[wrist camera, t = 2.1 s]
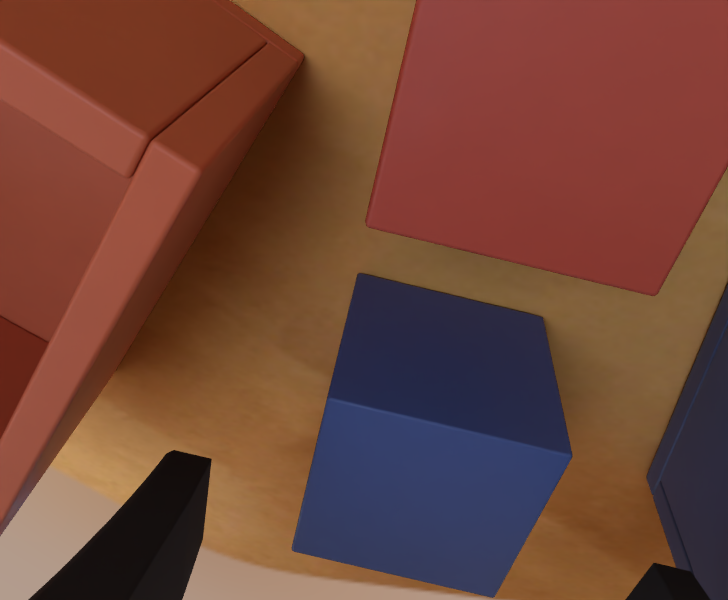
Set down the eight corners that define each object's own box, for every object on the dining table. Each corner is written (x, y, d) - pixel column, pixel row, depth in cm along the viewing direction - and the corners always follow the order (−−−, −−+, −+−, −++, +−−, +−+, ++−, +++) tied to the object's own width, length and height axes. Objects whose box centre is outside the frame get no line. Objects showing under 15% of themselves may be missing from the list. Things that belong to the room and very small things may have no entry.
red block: (706, -59, 10) (840, -31, 6) (599, 184, 12) (656, 299, 9) (448, -123, 10) (445, -129, 6) (388, 132, 12) (363, 228, 8)
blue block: (543, 316, 14) (574, 456, 10) (485, 448, 16) (494, 599, 12) (358, 271, 14) (326, 398, 10) (325, 409, 16) (290, 551, 12)
